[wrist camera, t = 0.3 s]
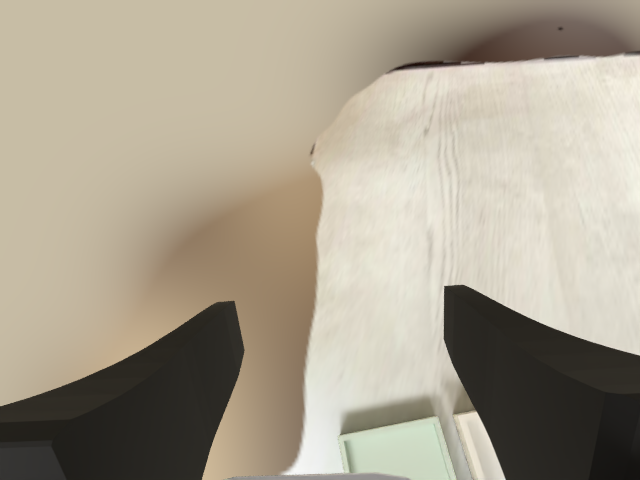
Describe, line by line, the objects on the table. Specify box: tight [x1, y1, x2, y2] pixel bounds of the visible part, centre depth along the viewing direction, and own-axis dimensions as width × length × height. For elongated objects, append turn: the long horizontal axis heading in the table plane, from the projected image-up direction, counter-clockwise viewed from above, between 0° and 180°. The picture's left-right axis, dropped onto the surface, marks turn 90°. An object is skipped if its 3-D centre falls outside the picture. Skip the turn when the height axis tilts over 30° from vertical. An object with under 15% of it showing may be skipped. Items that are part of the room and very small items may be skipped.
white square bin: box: [453, 410, 506, 480], centre depth 32 cm, size 12×12×3 cm
